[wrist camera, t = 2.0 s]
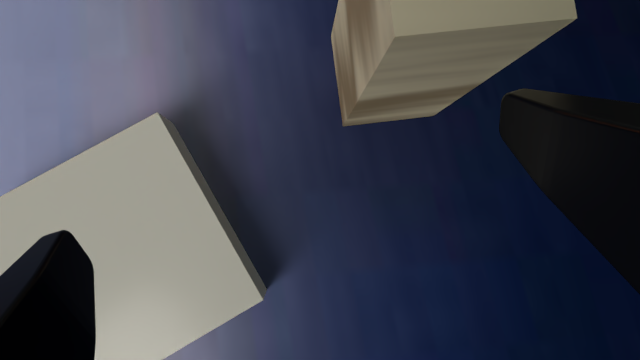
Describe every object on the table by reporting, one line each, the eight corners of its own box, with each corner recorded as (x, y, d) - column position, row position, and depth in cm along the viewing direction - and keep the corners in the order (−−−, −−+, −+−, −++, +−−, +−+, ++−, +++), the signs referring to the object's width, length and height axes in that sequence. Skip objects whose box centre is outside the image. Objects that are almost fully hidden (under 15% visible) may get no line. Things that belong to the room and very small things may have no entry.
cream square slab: (267, 288, 23) (263, 299, 20) (95, 389, 22) (63, 417, 19) (175, 125, 23) (157, 112, 20) (2, 218, 22) (-43, 219, 19)
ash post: (433, 115, 23) (577, 18, 12) (343, 126, 23) (394, 36, 11) (420, 27, 24) (547, -158, 12) (330, 36, 23) (369, -145, 12)
